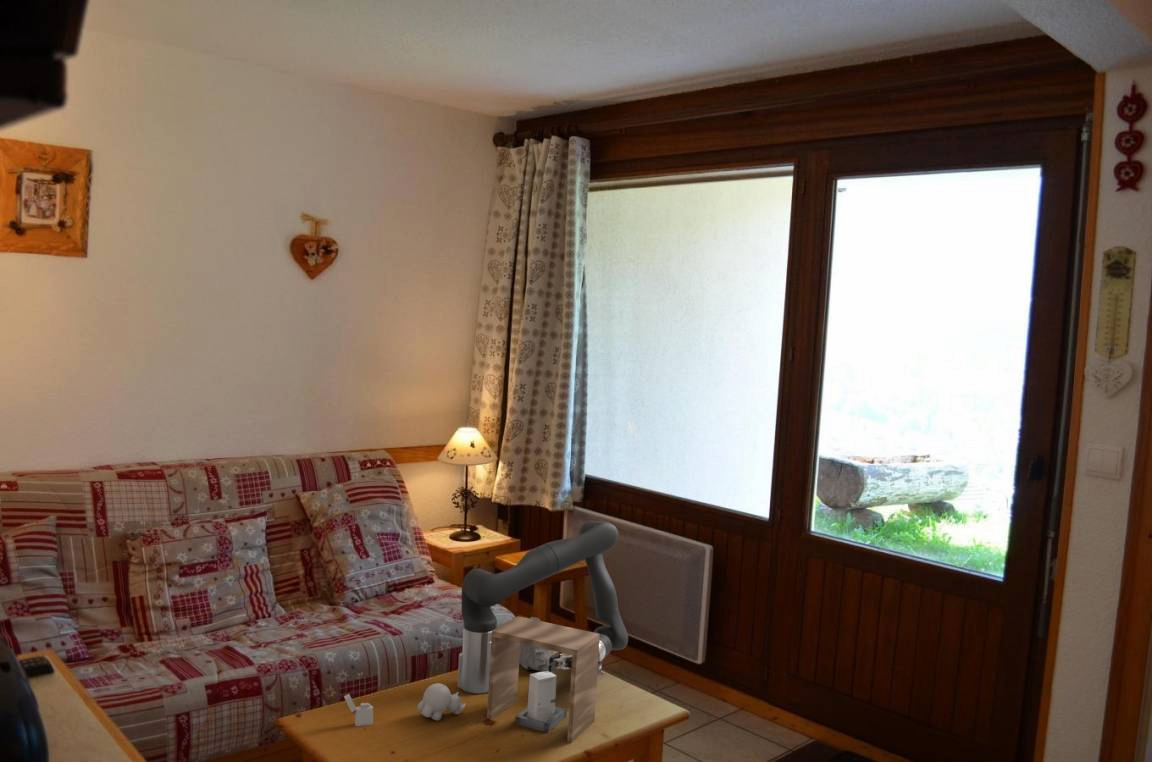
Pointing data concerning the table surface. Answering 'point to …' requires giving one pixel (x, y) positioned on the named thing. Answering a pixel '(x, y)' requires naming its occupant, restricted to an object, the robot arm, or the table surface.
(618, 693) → the table surface
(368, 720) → the lighter
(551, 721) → the socket collar
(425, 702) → the toy rhinoceros
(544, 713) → the skincare box
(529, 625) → the wooden bench
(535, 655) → the decorative rock
